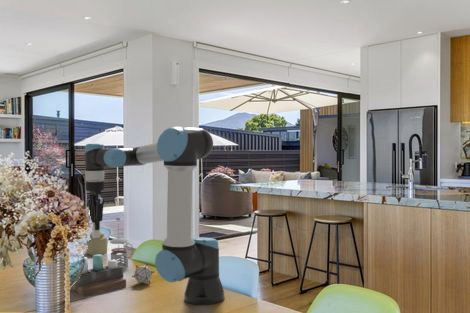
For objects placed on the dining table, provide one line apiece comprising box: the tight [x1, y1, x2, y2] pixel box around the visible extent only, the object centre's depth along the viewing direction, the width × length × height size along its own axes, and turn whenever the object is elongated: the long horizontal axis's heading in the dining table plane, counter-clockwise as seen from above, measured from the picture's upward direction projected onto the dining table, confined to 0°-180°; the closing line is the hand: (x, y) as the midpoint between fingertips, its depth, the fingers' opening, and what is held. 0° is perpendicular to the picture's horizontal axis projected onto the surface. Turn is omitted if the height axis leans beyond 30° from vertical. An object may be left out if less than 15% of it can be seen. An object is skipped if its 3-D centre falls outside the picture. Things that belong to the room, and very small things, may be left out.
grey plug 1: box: [82, 256, 89, 274], centre depth 189 cm, size 4×4×6 cm
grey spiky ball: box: [131, 263, 155, 286], centre depth 198 cm, size 9×8×10 cm
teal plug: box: [92, 254, 104, 271], centre depth 193 cm, size 4×4×6 cm
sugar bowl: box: [86, 230, 108, 256], centre depth 260 cm, size 15×11×15 cm
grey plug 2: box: [107, 259, 118, 269], centre depth 197 cm, size 4×4×6 cm
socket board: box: [70, 265, 127, 297], centre depth 193 cm, size 14×19×8 cm
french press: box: [109, 217, 134, 273], centre depth 221 cm, size 10×12×25 cm
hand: (96, 237), depth 193 cm, fingers closed
